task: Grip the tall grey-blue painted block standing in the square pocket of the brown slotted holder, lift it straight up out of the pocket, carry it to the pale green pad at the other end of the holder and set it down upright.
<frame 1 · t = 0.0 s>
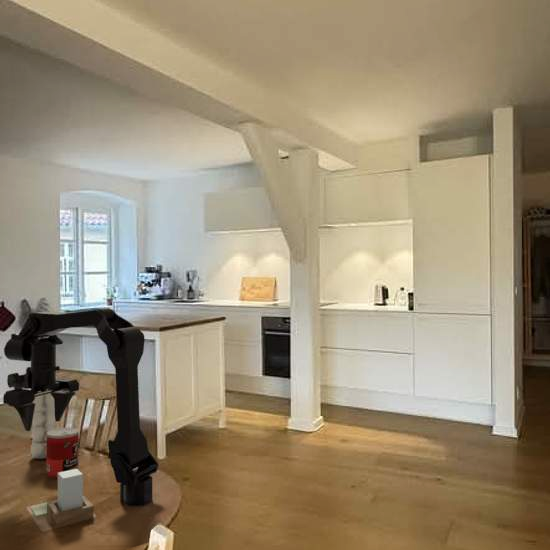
hand: (43, 425, 131), 15 cm above the table, tool pointing down, fingers open, 9 cm apart
plastic bottle: (43, 458, 151), on the table
brown slotted holder: (60, 516, 114), on the table
block: (70, 516, 112), point 1 cm above the table, touching brown slotted holder
canned food: (62, 474, 139), on the table
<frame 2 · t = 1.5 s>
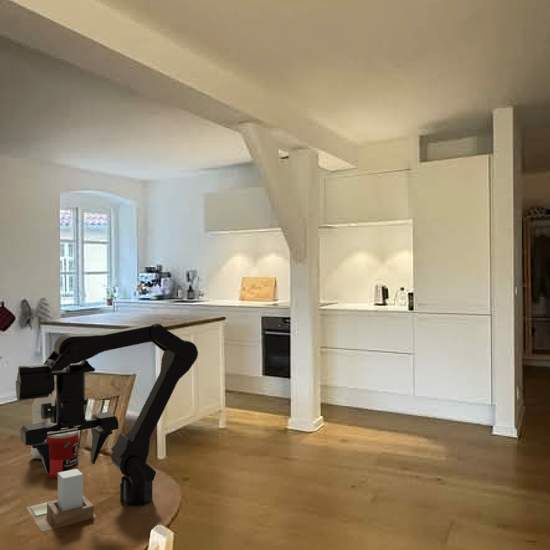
hand: (70, 468, 112), 11 cm above the table, tool pointing down, fingers open, 9 cm apart
nothing on the table moved.
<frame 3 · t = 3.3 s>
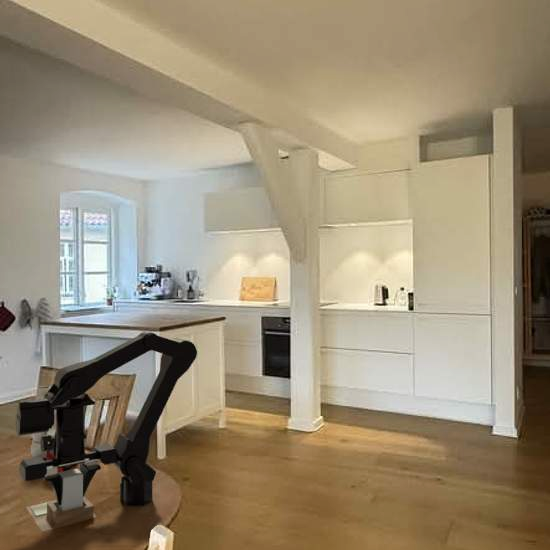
hand: (70, 501, 112), 4 cm above the table, tool pointing down, fingers closed on block, 4 cm apart
block: (70, 516, 112), point 1 cm above the table, touching brown slotted holder, gripper
everything else where it was.
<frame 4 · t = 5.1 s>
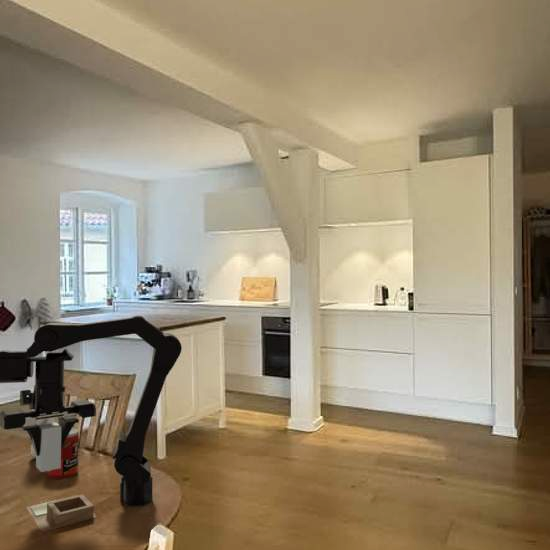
hand: (48, 453, 115), 13 cm above the table, tool pointing down, fingers closed on block, 4 cm apart
block: (48, 467, 115), point 10 cm above the table, touching gripper
everything else where it was.
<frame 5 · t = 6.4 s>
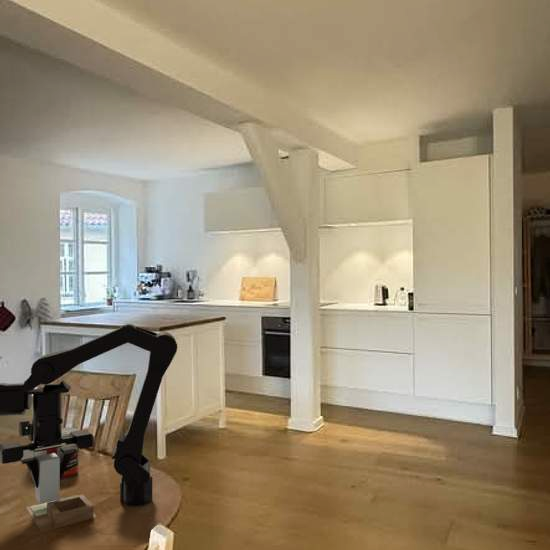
hand: (47, 484, 115), 6 cm above the table, tool pointing down, fingers closed on block, 4 cm apart
block: (47, 498, 115), point 3 cm above the table, touching gripper
everything else where it was.
when the fingers open (6 cm above the table, at t = 7.2 s): block drops 1 cm, resting on brown slotted holder.
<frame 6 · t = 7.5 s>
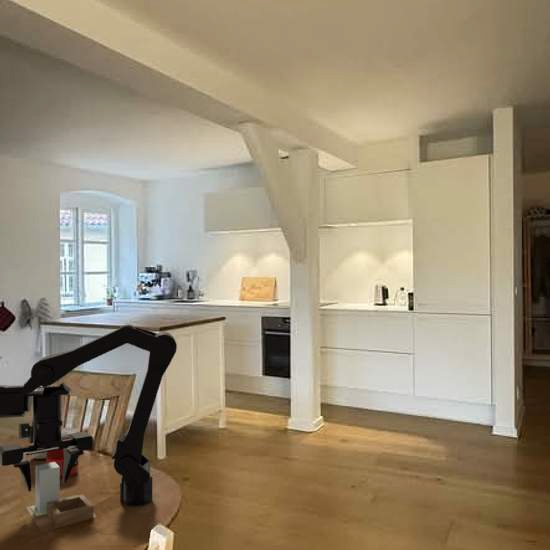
hand: (47, 487, 115), 6 cm above the table, tool pointing down, fingers open, 7 cm apart
block: (47, 507, 115), point 1 cm above the table, touching brown slotted holder
everything else where it was.
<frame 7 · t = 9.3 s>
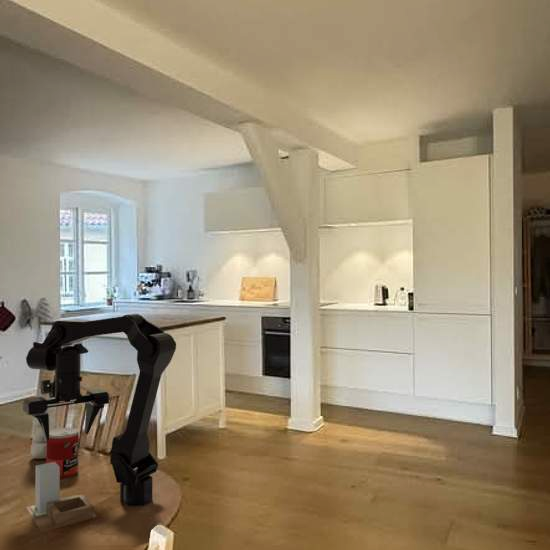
hand: (67, 437, 127), 13 cm above the table, tool pointing down, fingers open, 9 cm apart
nothing on the table moved.
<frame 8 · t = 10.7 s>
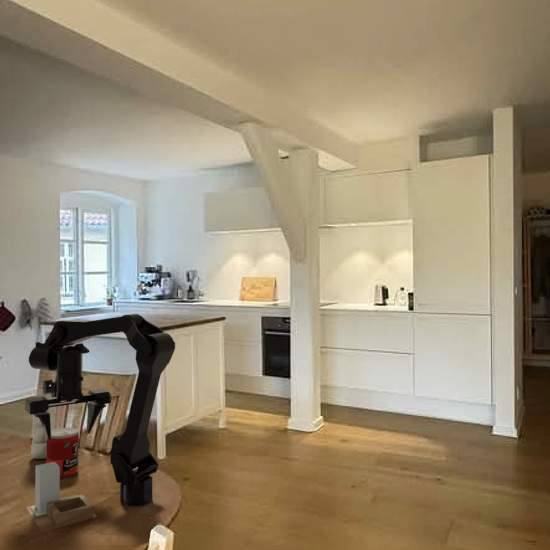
hand: (69, 436, 127), 13 cm above the table, tool pointing down, fingers open, 9 cm apart
nothing on the table moved.
at the end: block 0.1 cm from the target spot, point 1.2 cm above the table; block tilted 0°; the gripper is holding nothing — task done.
